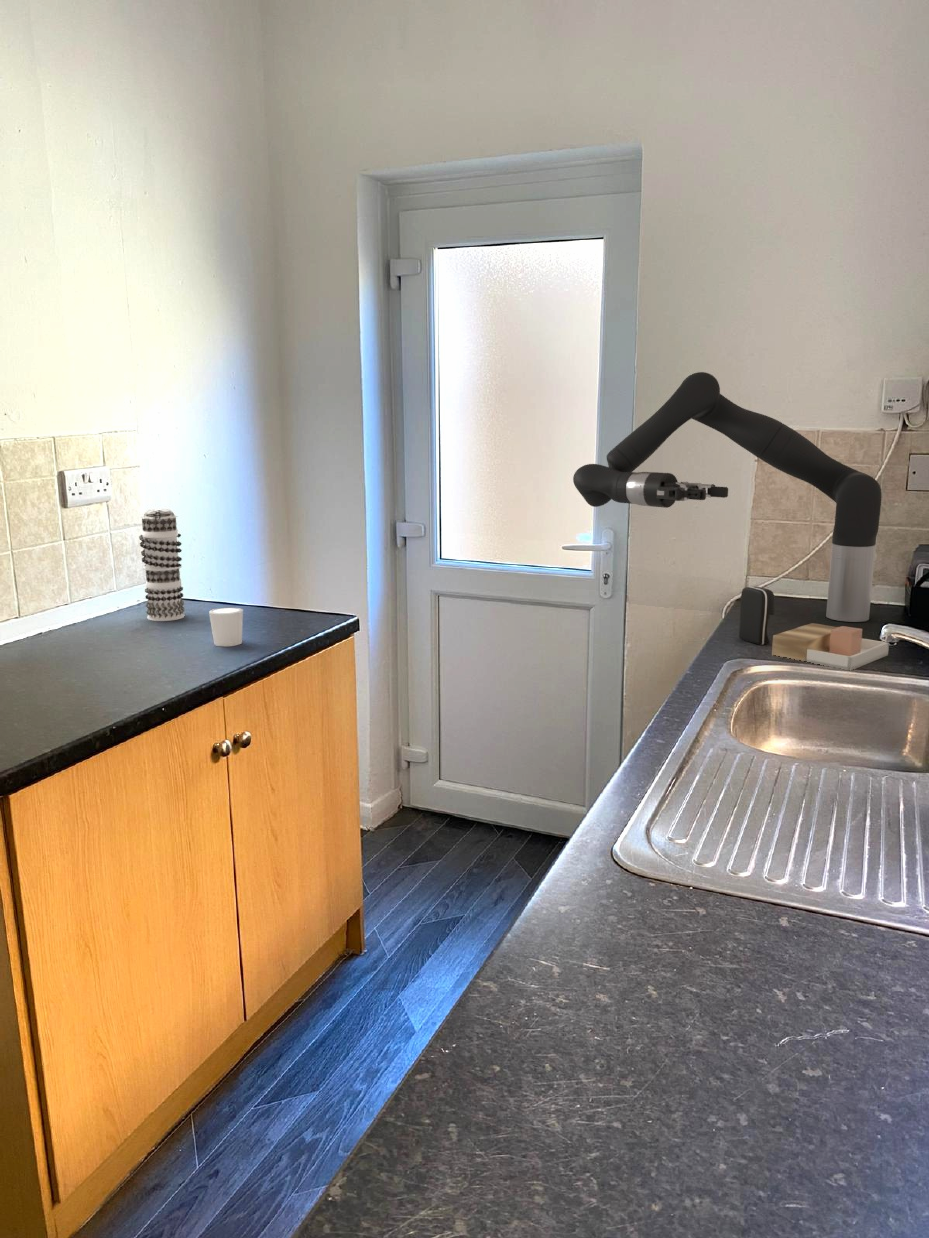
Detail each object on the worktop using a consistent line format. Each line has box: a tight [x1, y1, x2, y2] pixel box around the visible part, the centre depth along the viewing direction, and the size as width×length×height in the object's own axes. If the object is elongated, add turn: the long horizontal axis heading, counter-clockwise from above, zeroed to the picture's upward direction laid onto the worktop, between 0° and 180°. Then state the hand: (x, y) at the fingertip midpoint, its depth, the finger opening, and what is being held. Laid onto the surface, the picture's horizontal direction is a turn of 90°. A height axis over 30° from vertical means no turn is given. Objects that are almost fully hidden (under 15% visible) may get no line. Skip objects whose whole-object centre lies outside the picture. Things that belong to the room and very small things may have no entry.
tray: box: [806, 637, 890, 672], centre depth 185 cm, size 17×9×2 cm, turn 134°
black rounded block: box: [738, 586, 776, 646], centre depth 198 cm, size 7×4×11 cm, turn 24°
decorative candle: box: [138, 508, 185, 622], centre depth 221 cm, size 9×9×25 cm
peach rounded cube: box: [829, 625, 863, 656], centre depth 185 cm, size 5×5×4 cm
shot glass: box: [208, 607, 244, 647], centre depth 198 cm, size 7×7×7 cm
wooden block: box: [771, 622, 839, 662], centre depth 191 cm, size 16×7×4 cm, turn 134°
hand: (716, 493), depth 201 cm, fingers open, 8 cm apart
